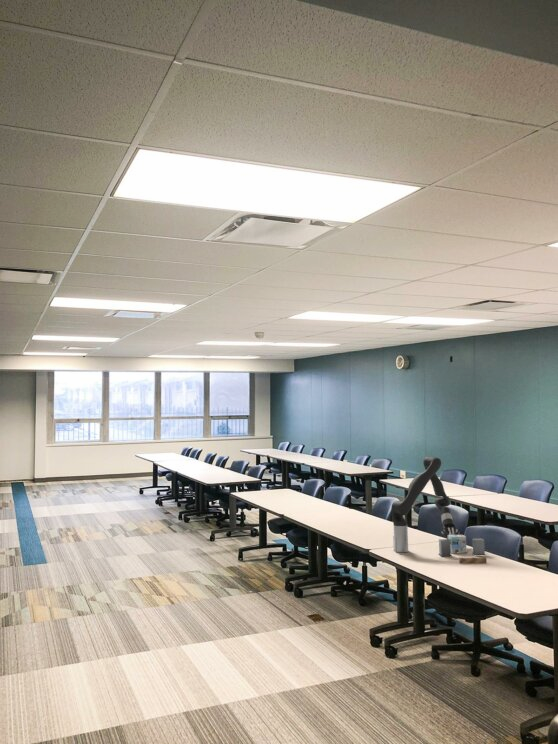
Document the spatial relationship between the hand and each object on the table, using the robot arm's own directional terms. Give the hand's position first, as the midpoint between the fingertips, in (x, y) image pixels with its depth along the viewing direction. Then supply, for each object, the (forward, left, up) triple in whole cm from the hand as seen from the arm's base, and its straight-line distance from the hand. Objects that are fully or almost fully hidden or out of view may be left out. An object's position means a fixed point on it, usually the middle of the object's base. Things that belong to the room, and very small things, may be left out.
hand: (453, 542), depth 410 cm
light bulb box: (0, -7, -5) cm, 9 cm away
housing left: (-11, -17, -5) cm, 21 cm away
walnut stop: (0, -39, -5) cm, 39 cm away
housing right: (+11, -17, -5) cm, 21 cm away
